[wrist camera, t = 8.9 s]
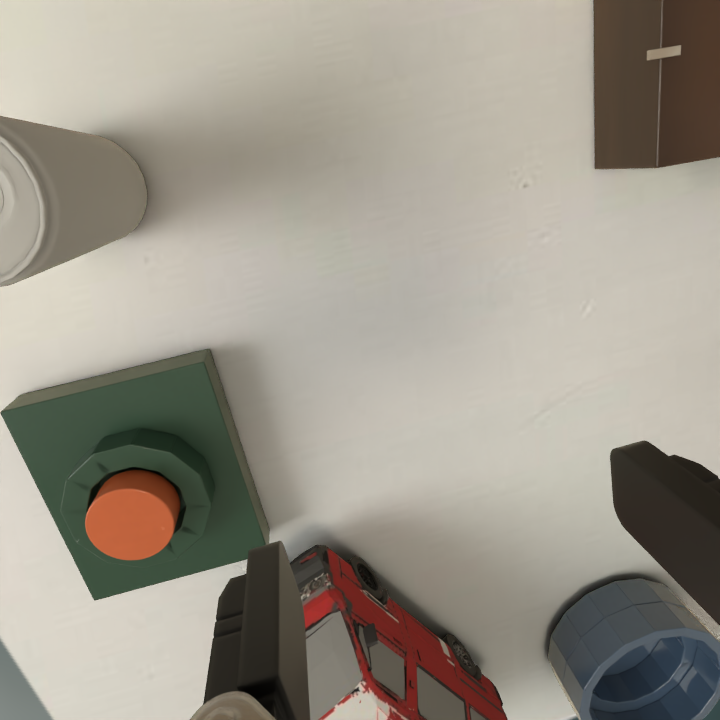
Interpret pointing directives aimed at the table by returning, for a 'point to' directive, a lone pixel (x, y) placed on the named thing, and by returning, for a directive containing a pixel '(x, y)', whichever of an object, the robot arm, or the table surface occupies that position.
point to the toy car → (380, 652)
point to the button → (133, 515)
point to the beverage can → (61, 196)
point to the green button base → (143, 464)
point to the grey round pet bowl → (635, 655)
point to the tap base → (656, 82)
